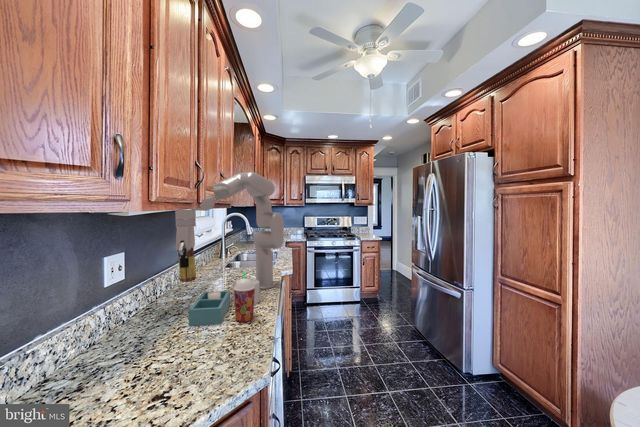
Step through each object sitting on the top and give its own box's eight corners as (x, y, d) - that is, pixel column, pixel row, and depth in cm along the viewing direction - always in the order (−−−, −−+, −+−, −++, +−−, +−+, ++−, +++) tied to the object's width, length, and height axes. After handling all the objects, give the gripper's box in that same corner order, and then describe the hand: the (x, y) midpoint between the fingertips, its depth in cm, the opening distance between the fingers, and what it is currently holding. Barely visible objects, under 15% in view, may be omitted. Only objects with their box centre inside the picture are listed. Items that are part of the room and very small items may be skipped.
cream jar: (209, 307, 121) (209, 291, 120) (221, 306, 122) (221, 291, 121) (206, 311, 116) (206, 295, 115) (219, 311, 116) (219, 294, 116)
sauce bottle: (197, 278, 120) (195, 233, 119) (194, 282, 114) (193, 234, 113) (181, 279, 118) (179, 233, 117) (177, 283, 112) (175, 235, 111)
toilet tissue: (261, 306, 125) (260, 284, 125) (233, 309, 121) (233, 286, 121) (258, 298, 135) (258, 278, 135) (232, 301, 131) (232, 280, 131)
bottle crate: (204, 307, 123) (203, 292, 123) (230, 305, 125) (230, 290, 125) (189, 328, 102) (188, 310, 102) (220, 326, 104) (220, 308, 104)
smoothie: (254, 315, 114) (254, 268, 113) (256, 324, 106) (256, 273, 105) (233, 318, 111) (233, 269, 111) (233, 327, 103) (233, 274, 103)
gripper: (183, 221, 123) (184, 261, 123) (168, 225, 106) (169, 271, 106) (200, 221, 124) (202, 260, 125) (188, 224, 107) (190, 270, 108)
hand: (187, 265), depth 116 cm, fingers closed on sauce bottle, 6 cm apart
